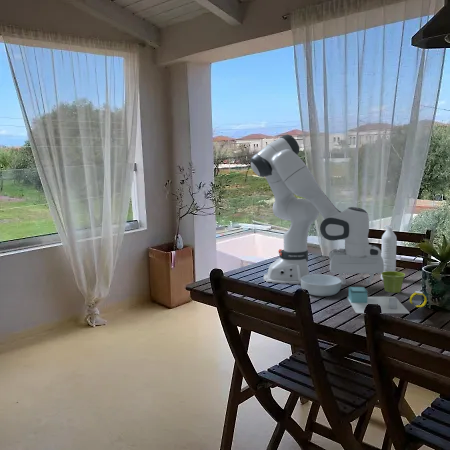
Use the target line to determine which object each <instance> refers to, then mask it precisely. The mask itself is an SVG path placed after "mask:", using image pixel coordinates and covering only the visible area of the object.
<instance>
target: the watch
mask: <svg viewBox="0 0 450 450" xmlns="http://www.w3.org/2000/svg"><path fill="white" fill-rule="evenodd" d="M417 295H418V296H423V298H424V299H423V300H424V301H423V303H422V304H420V305H417V304H416V305H415V307H416V308H423V307H425V305H427V301H428V300H427V299H428V298H427V296H426V295H425V294H424V293H423V291H419V290H415V291H414V292H413V293H412V294H411V295H410V296H409V303H410V304H411V305H412V304H413V298H414V297H415V296H417Z"/></svg>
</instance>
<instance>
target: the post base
mask: <svg viewBox="0 0 450 450" xmlns="http://www.w3.org/2000/svg"><path fill="white" fill-rule="evenodd" d="M346 298H347V300H348V302H349V303H350V305H351V307H352V309H353V311H354V312H355V314H365V313H364V309H365V307H366V305H367V304H378V305H380V306H381V309H382V313H381V314H410V311H409V310H408V309H407V308H406V307H405V306H404V304H402V303H401V301H400V300H399V299H398V298H397V297H396V296H367V303H351V301H350V299H349V296H346Z"/></svg>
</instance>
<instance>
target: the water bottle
mask: <svg viewBox="0 0 450 450" xmlns="http://www.w3.org/2000/svg"><path fill="white" fill-rule="evenodd" d="M383 227H384V228H385V229H386V230H385V231H384V233H383V234H382V235H381V257H382V258H383V263H384V271H383V272H385V271H396V269H397V262H396V261H397V240H398V239H397V235H396V234H395V232H394V230H393V227H392V226H390V225H389V224H384V226H383ZM380 280H382V281H383V277H382V275H381V274H380Z"/></svg>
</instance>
